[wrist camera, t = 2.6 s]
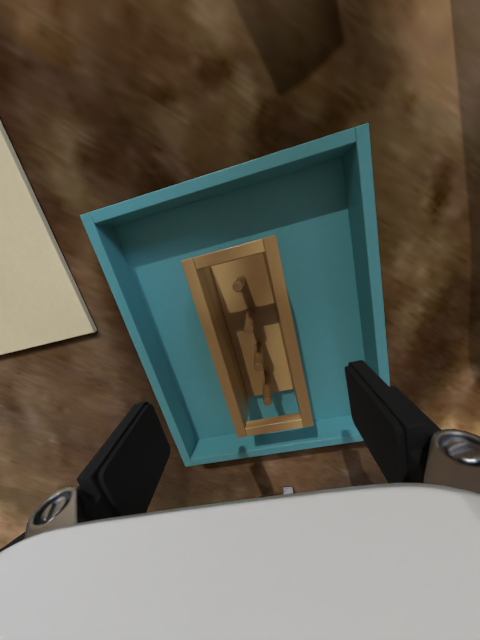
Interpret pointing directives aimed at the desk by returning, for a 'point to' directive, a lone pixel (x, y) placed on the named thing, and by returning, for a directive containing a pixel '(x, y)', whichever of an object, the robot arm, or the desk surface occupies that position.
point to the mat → (32, 268)
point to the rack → (249, 331)
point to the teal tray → (300, 277)
